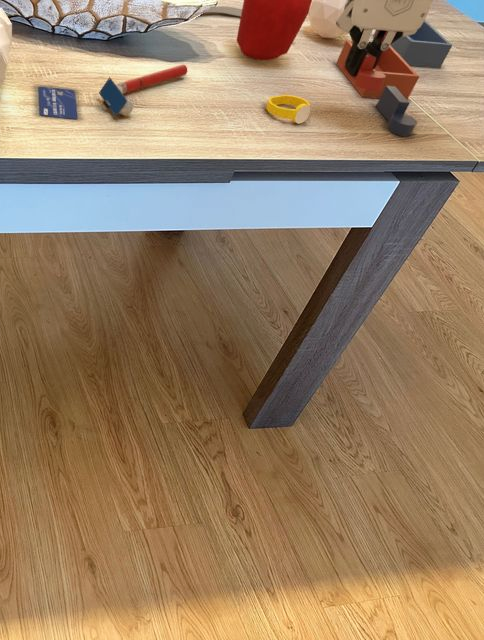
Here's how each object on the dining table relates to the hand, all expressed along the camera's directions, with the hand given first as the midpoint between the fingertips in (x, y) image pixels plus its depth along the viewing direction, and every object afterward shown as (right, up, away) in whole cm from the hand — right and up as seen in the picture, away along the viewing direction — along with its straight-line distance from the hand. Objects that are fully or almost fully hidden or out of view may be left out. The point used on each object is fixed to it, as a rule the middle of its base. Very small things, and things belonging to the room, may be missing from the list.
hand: (357, 72), depth 109 cm
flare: (-29, -1, +2) cm, 29 cm away
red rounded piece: (-9, +9, +16) cm, 21 cm away
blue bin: (+20, +13, +25) cm, 34 cm away
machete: (-13, +18, +25) cm, 33 cm away
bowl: (-55, -3, -8) cm, 56 cm away
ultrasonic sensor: (-37, -7, -2) cm, 38 cm away
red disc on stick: (0, -2, -1) cm, 2 cm away
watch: (-11, -3, +4) cm, 12 cm away
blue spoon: (+7, -6, +4) cm, 11 cm away
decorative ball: (+5, +16, +25) cm, 30 cm away
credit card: (-44, -6, -3) cm, 45 cm away
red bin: (+9, +4, +14) cm, 17 cm away
